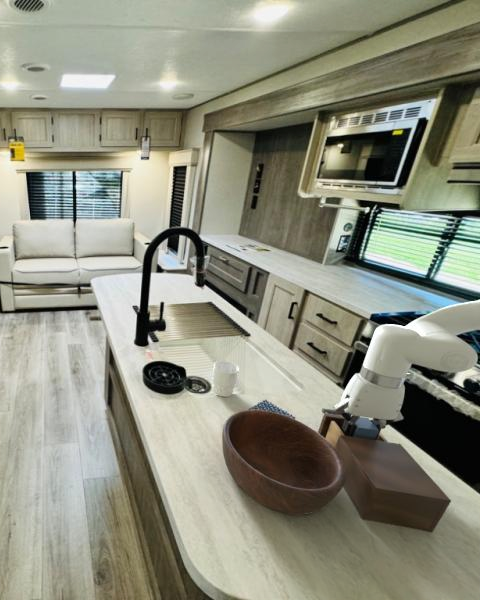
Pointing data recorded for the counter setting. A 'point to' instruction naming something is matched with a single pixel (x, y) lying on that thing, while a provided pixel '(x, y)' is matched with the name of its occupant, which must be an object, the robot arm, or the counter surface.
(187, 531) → the counter surface
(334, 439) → the drawer
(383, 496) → the cabinet
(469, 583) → the counter surface
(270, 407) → the woven mat
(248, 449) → the wooden bowl
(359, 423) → the block
